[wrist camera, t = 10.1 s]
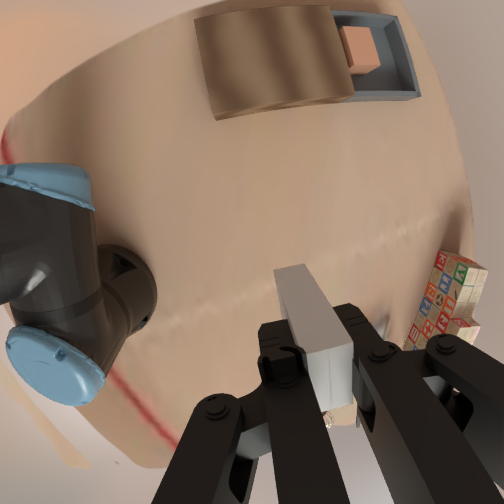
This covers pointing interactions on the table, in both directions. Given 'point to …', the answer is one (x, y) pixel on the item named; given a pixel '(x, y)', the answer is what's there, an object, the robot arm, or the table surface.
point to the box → (382, 59)
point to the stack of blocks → (449, 301)
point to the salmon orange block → (359, 50)
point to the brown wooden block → (272, 59)
